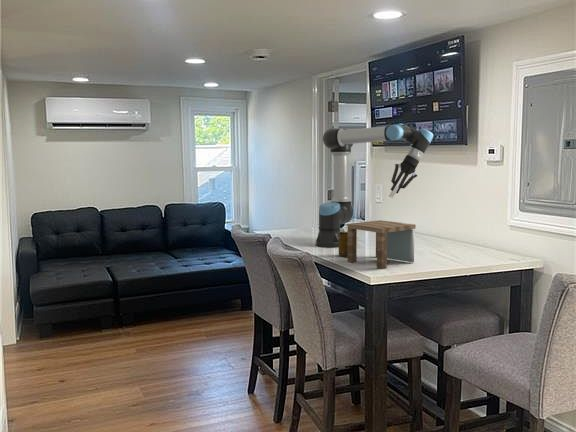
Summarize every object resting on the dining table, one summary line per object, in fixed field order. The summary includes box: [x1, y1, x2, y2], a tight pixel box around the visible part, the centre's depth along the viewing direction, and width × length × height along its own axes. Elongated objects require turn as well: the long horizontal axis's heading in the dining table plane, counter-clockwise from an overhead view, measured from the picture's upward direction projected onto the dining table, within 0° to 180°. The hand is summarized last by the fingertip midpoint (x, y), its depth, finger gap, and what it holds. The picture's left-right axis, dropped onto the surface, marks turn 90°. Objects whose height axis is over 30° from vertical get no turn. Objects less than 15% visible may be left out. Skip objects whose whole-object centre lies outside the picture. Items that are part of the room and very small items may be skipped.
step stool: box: [346, 219, 417, 270], centre depth 257 cm, size 22×22×18 cm
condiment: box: [334, 231, 348, 258], centre depth 274 cm, size 7×8×12 cm
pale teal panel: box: [387, 229, 416, 263], centre depth 260 cm, size 2×15×15 cm, turn 46°
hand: (390, 197), depth 289 cm, fingers closed
